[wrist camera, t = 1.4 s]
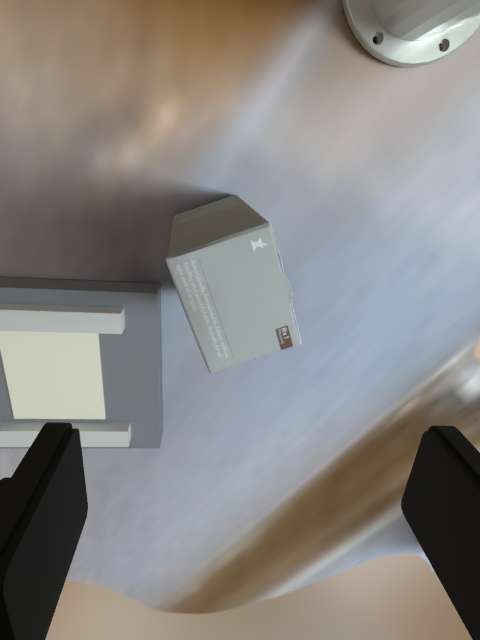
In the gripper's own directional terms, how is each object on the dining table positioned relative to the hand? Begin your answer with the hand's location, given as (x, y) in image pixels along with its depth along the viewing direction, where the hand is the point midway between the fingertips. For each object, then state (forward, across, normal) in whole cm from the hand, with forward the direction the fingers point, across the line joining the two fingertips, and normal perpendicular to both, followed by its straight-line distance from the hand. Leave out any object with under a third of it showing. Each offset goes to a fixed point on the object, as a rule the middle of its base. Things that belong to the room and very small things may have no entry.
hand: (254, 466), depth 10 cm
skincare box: (+29, 0, 0) cm, 29 cm away
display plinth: (+28, +16, +13) cm, 35 cm away
